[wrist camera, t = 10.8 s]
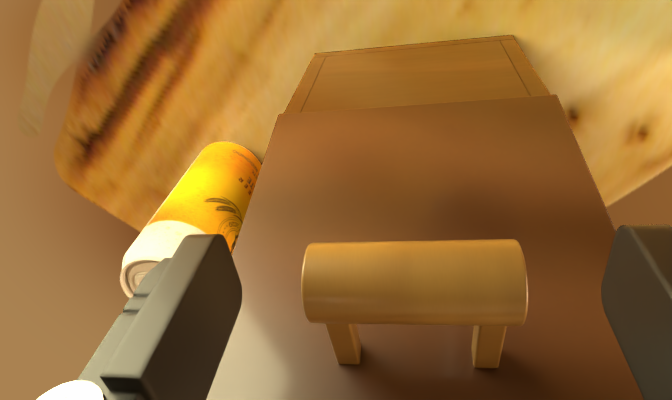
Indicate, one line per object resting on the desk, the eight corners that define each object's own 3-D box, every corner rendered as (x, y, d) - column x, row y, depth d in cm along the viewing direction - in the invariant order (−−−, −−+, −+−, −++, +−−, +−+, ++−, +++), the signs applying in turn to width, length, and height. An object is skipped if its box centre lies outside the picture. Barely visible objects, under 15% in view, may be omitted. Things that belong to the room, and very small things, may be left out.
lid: (700, 460, 11) (834, 355, 8) (185, 430, 14) (91, 339, 10) (554, 107, 23) (578, -9, 19) (281, 125, 25) (253, 27, 21)
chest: (497, 209, 40) (523, 305, 31) (340, 214, 42) (322, 303, 34) (512, 34, 32) (553, 97, 23) (314, 53, 34) (281, 116, 25)
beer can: (260, 203, 43) (203, 332, 31) (197, 184, 43) (114, 307, 30) (272, 149, 39) (212, 271, 27) (203, 128, 39) (111, 242, 27)
